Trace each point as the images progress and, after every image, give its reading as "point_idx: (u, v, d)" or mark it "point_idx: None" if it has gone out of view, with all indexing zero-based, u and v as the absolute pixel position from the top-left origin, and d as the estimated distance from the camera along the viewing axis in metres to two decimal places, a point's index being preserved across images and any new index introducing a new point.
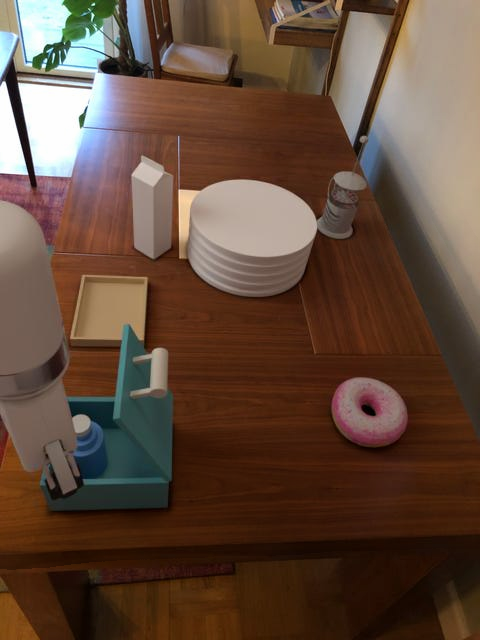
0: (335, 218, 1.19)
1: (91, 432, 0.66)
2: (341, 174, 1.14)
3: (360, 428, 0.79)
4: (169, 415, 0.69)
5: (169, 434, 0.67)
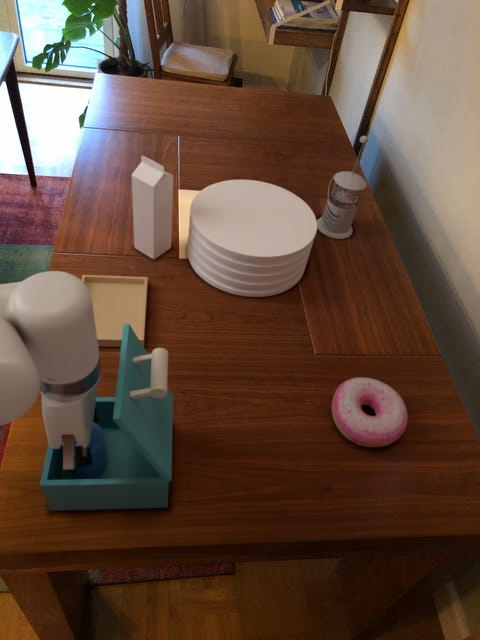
0: (335, 218, 1.19)
1: (91, 432, 0.66)
2: (341, 174, 1.14)
3: (360, 428, 0.79)
4: (169, 415, 0.69)
5: (169, 434, 0.67)
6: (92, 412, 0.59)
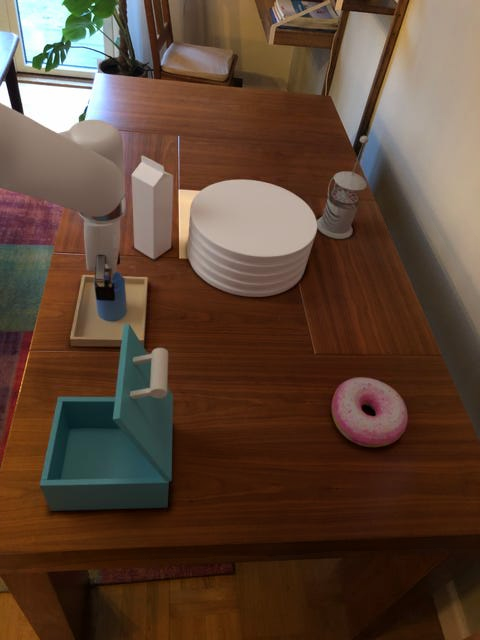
0: (335, 218, 1.19)
1: (116, 275, 0.88)
2: (341, 174, 1.14)
3: (360, 428, 0.79)
4: (169, 415, 0.69)
5: (169, 434, 0.67)
6: (118, 245, 0.80)
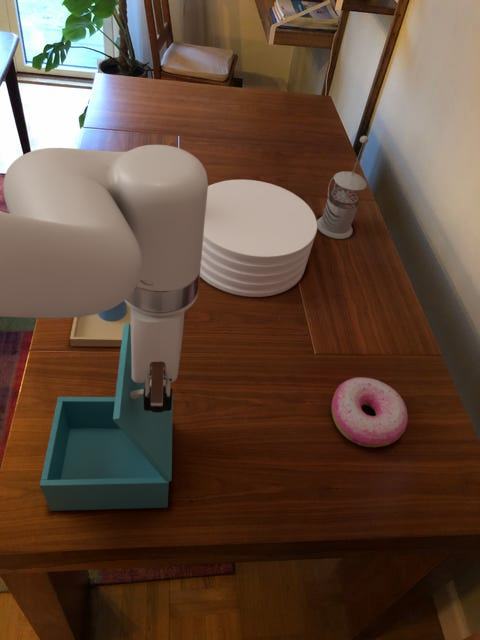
0: (335, 218, 1.19)
1: None
2: (341, 174, 1.14)
3: (360, 428, 0.79)
4: (169, 415, 0.69)
5: (169, 434, 0.67)
6: None
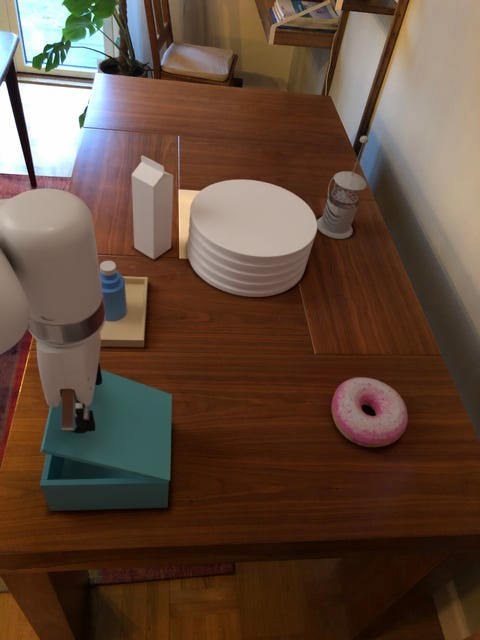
0: (335, 218, 1.19)
1: (116, 275, 0.88)
2: (341, 174, 1.14)
3: (360, 428, 0.79)
4: (161, 417, 0.69)
5: (163, 435, 0.67)
6: (95, 366, 0.52)
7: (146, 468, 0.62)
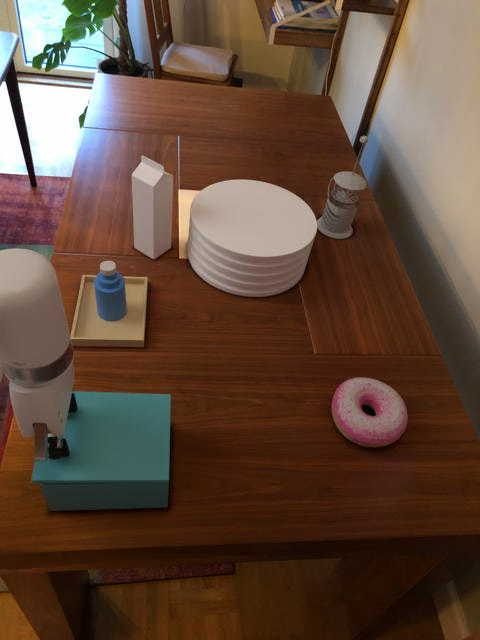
0: (335, 218, 1.19)
1: (116, 275, 0.88)
2: (341, 174, 1.14)
3: (360, 428, 0.79)
4: (158, 420, 0.69)
5: (160, 437, 0.68)
6: (66, 400, 0.57)
7: (140, 474, 0.63)
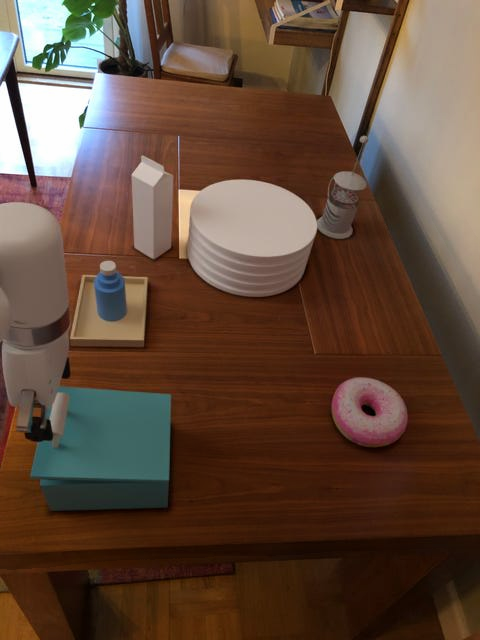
0: (335, 218, 1.19)
1: (116, 275, 0.88)
2: (341, 174, 1.14)
3: (360, 428, 0.79)
4: (158, 419, 0.69)
5: (161, 437, 0.67)
6: (58, 370, 0.55)
7: (141, 473, 0.63)
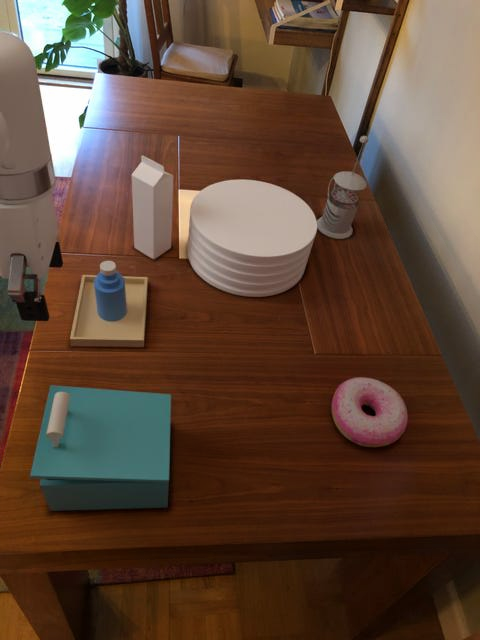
0: (335, 218, 1.19)
1: (116, 275, 0.88)
2: (341, 174, 1.14)
3: (360, 428, 0.79)
4: (158, 419, 0.69)
5: (161, 437, 0.67)
6: (48, 239, 0.53)
7: (141, 473, 0.63)
